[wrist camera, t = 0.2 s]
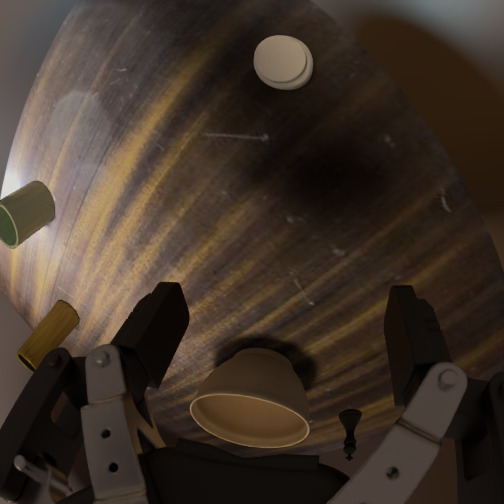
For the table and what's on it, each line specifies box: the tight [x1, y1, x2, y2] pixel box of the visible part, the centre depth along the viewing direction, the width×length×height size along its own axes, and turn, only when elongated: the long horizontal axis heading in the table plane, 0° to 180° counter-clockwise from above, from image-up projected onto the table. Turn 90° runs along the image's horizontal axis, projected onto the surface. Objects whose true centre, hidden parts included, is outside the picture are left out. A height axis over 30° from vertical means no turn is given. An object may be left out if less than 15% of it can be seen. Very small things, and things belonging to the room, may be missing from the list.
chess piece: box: [339, 410, 362, 461], centre depth 43 cm, size 4×4×10 cm
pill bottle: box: [254, 35, 313, 90], centre depth 19 cm, size 4×4×8 cm
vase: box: [16, 301, 79, 373], centre depth 42 cm, size 6×6×14 cm
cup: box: [0, 181, 55, 249], centre depth 32 cm, size 7×7×8 cm
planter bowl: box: [190, 348, 310, 448], centre depth 39 cm, size 16×16×11 cm
